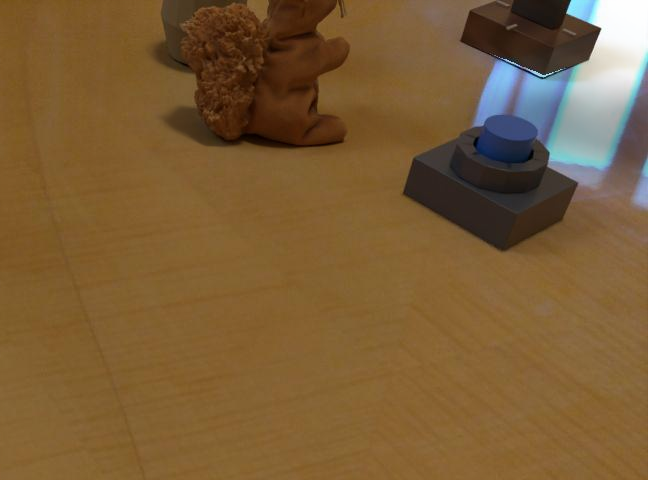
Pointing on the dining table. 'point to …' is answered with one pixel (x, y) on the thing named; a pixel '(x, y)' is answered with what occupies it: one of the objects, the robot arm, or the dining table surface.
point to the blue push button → (507, 139)
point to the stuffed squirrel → (264, 70)
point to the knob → (542, 11)
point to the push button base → (490, 190)
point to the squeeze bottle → (184, 19)
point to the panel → (529, 38)
